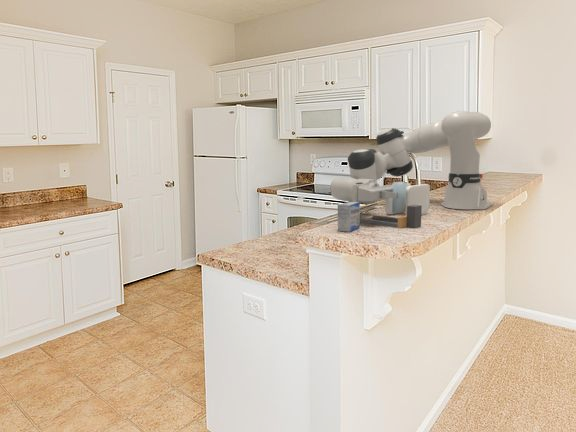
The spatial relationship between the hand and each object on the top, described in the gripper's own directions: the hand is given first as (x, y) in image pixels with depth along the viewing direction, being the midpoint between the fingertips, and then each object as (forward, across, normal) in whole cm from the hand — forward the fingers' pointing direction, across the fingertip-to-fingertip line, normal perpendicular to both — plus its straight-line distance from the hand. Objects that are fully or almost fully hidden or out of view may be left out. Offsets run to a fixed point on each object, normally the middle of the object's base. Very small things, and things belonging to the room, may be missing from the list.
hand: (401, 194), depth 155 cm
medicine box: (-8, +18, -11) cm, 22 cm away
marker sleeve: (-1, 0, -6) cm, 6 cm away
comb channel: (-4, 0, -10) cm, 11 cm away
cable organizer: (-10, -20, -11) cm, 25 cm away
